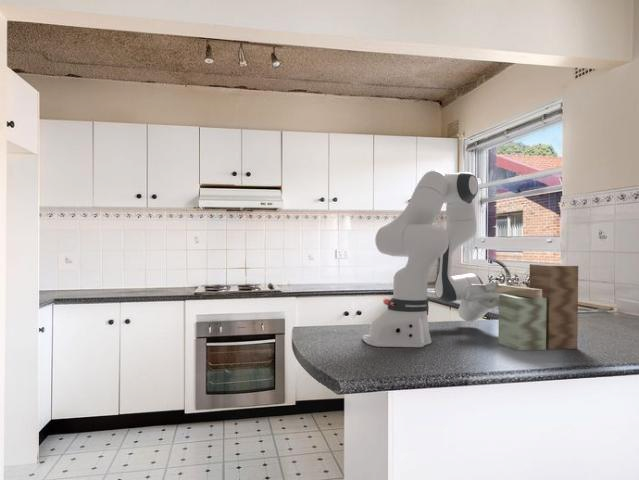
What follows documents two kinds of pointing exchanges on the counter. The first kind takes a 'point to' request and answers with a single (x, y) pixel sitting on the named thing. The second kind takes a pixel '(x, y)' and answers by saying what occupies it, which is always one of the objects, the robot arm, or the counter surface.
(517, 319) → the stand
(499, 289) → the batten
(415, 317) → the robot arm
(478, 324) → the counter surface
